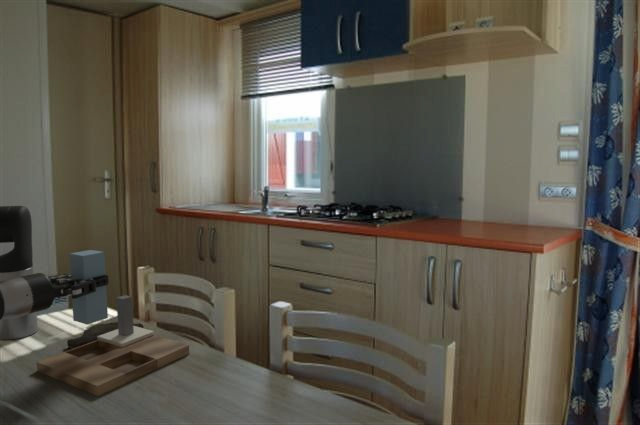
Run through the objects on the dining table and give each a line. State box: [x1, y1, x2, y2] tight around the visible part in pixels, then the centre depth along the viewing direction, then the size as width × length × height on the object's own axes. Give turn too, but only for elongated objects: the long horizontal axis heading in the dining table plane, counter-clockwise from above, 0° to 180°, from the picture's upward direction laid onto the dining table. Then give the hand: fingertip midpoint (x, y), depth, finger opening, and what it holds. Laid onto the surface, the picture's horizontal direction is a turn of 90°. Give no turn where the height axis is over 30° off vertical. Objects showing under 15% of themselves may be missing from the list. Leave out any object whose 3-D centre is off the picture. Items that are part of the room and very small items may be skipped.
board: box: [36, 334, 190, 397], centre depth 107 cm, size 21×23×2 cm
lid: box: [97, 294, 155, 347], centre depth 115 cm, size 9×9×10 cm
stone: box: [66, 321, 145, 350], centre depth 122 cm, size 18×11×3 cm, turn 139°
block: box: [68, 249, 109, 325], centre depth 107 cm, size 5×5×15 cm
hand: (99, 277), depth 109 cm, fingers closed on block, 5 cm apart
